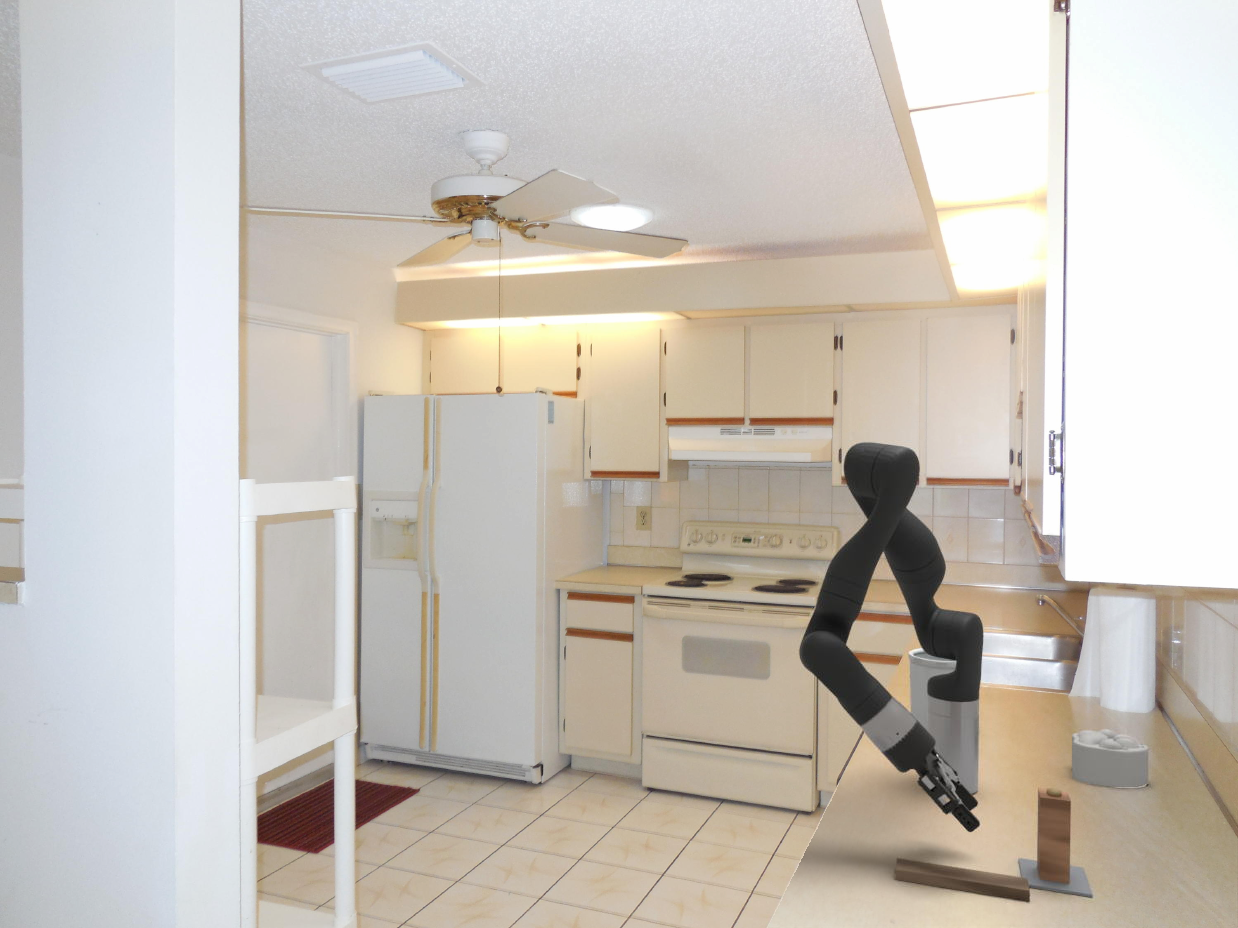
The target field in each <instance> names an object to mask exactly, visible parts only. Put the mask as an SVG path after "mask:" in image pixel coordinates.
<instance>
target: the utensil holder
mask: <svg viewBox="0 0 1238 928" xmlns="http://www.w3.org/2000/svg"><path fill="white" fill-rule="evenodd" d="M908 660H909V689H910V693H909V694H910V713H911V714H912V715H913V716H914V717H915V718H916V719H917V720H918V722H919V723H920V724H921V725H922V726H923V727H924V728H925V729H926V730H927V683H928V680H929V679H930V678H931V677H933V676H937V675H942V674H948V673H951V672H953V671H955V668H956V660H950V659H944V658H938V657H933V656H931V655H928V654H927V653H926V652H925V651H924V650H923V649H922V647H921V648H914V649H912V650H910V651H909V652H908Z"/></svg>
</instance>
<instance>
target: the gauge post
mask: <svg viewBox="0 0 1238 928" xmlns="http://www.w3.org/2000/svg"><path fill="white" fill-rule="evenodd" d="M1071 803H1072V800H1071V798H1070V794H1069V791H1065V790H1061V789H1059V788H1054V787H1048V788H1041V787H1038V788H1037V841H1036V842H1037V845H1036V849H1037V852H1036V854H1037V856H1036V857H1037V858H1036V861H1037V869H1038V874H1039V879H1044V880H1050V881H1056V882H1063V883H1069V884H1070V866H1071V818H1072V817H1071V814H1072V813H1071V812H1072V811H1071V810H1072V804H1071Z"/></svg>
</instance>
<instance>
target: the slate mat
mask: <svg viewBox="0 0 1238 928" xmlns="http://www.w3.org/2000/svg"><path fill="white" fill-rule="evenodd" d="M1017 861H1018V866H1019V872H1020V877H1023V878H1027V879H1028V884H1029V889H1030V888H1031V889H1037V890H1044V891H1048V892H1056V893H1061V894H1062V893H1063V894H1068V895H1076V896H1081V897H1086V898H1087V897H1089V898H1094V897H1093V896H1094V895H1093V892H1092V891H1093V890H1092V889H1091V885H1090V882H1089V880H1088V879H1089V878H1088V876H1087V874H1086V870H1085V868H1084V867H1082V866H1077V865H1070V884H1069V883H1063V882H1056V881H1050V880H1044V879H1039V874H1038V869H1037V859H1036V860H1035V859H1030V858H1023V857H1018V859H1017Z"/></svg>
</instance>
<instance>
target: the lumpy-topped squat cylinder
mask: <svg viewBox="0 0 1238 928" xmlns="http://www.w3.org/2000/svg"><path fill="white" fill-rule="evenodd" d="M1071 741H1072V742H1071V771H1072V779H1074V780H1075V781H1077V782H1080V783H1083V784H1087V783H1089V784H1088V785H1092V784H1095V785H1094V786H1098V785H1103V786H1102V787H1104V786H1110V787H1109V788H1112V787H1123V788H1124V787H1139V786H1143V785H1145V784H1147V783H1148V784H1149V752H1150V751H1149V750H1150V749H1149V747H1148V746H1147V745H1146V744H1144V743H1143V742H1141V741H1138V740H1136V739H1135V738H1133V737H1132V736H1130V735H1129V734H1125V733H1123V734H1122V733H1121V734H1120V733H1119V734H1117V733H1116V732H1115V731H1113V730H1112V729H1109V728H1108V729H1107V728H1102V729H1099V730H1098V731H1095V730H1090V729H1084V730H1081V731H1079V732H1075V733H1073V734H1071Z"/></svg>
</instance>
